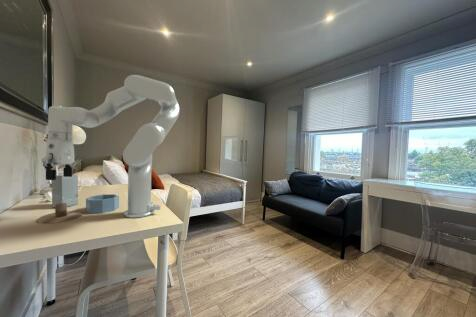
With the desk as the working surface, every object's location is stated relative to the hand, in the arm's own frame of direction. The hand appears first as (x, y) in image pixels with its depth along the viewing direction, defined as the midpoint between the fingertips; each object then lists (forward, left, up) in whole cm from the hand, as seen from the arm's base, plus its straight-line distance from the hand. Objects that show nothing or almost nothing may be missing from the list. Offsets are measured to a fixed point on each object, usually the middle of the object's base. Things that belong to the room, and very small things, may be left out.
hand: (59, 178), depth 83 cm
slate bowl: (-11, -11, -17) cm, 23 cm away
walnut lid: (0, 0, -17) cm, 17 cm away
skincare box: (+10, -19, -17) cm, 27 cm away
